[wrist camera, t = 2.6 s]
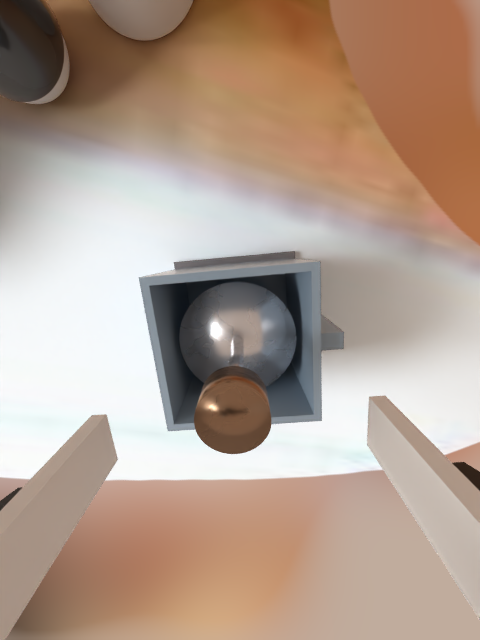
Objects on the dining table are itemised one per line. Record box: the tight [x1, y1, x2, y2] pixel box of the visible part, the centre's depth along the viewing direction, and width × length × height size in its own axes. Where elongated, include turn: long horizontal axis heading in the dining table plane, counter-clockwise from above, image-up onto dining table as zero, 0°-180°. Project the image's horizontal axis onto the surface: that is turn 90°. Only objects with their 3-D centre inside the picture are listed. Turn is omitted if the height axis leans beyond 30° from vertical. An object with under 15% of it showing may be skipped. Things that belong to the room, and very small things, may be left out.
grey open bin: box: [139, 251, 344, 431], centre depth 29 cm, size 18×16×15 cm
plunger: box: [179, 281, 296, 454], centre depth 19 cm, size 12×12×13 cm
